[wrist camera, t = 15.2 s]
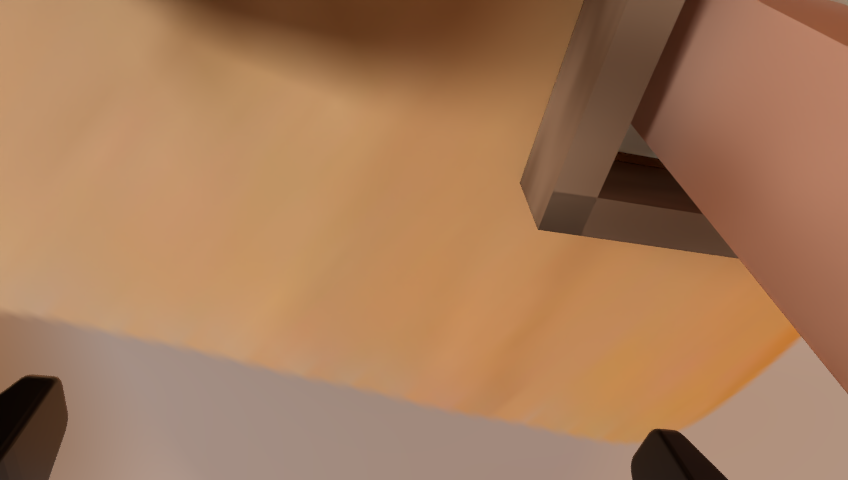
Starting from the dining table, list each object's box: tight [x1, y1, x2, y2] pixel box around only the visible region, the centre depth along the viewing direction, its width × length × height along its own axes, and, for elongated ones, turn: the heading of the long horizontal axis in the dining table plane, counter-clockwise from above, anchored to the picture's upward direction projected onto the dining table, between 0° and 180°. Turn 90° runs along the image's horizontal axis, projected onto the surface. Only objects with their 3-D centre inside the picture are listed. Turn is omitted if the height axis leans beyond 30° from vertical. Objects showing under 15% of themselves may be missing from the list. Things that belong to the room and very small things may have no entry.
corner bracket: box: [520, 0, 848, 258], centre depth 19 cm, size 12×12×3 cm
